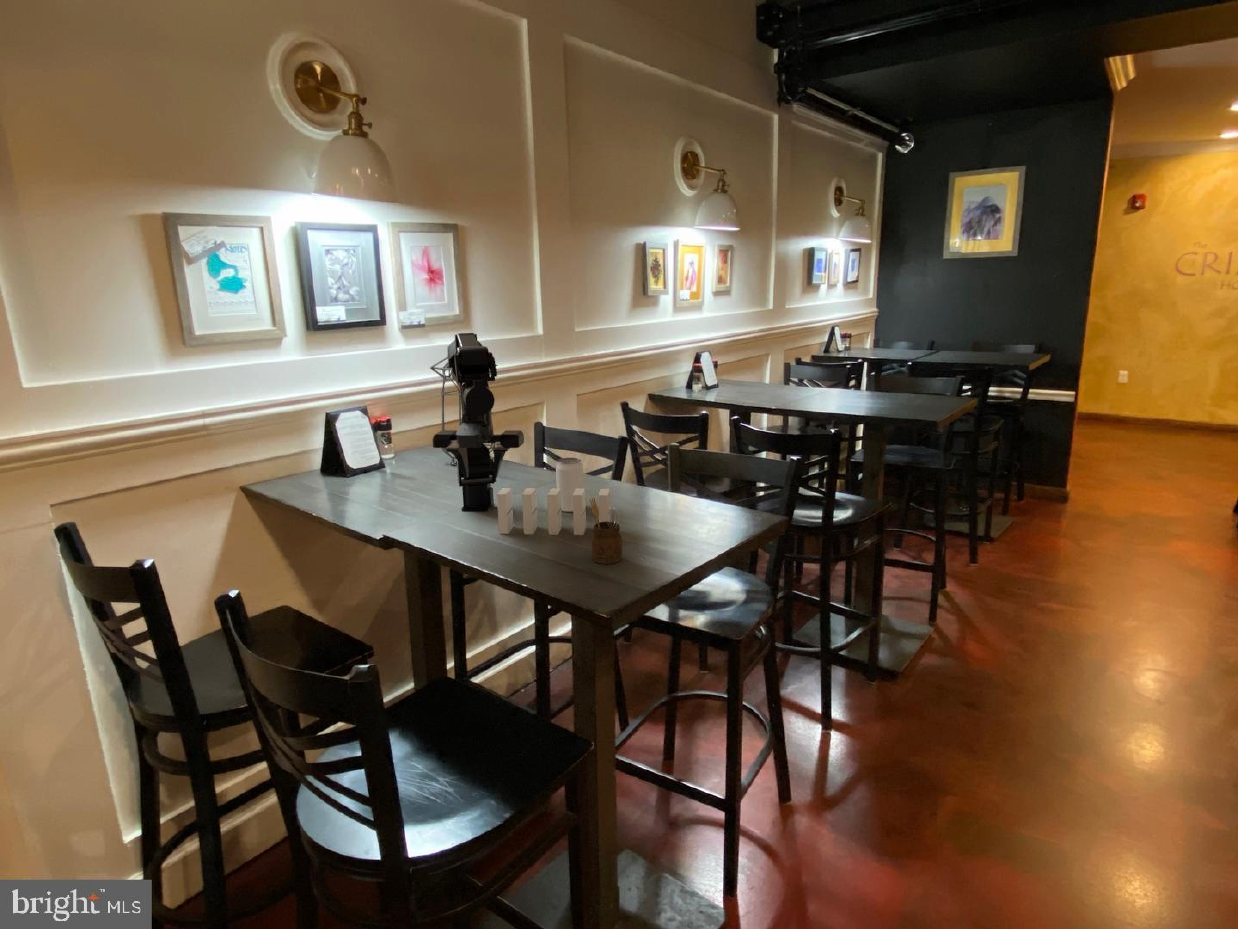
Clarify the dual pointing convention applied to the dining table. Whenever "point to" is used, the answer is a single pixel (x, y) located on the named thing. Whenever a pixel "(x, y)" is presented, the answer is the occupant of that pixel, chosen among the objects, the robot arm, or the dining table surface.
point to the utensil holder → (606, 539)
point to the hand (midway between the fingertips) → (481, 477)
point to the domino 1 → (505, 510)
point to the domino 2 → (529, 510)
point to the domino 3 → (554, 511)
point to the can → (569, 480)
